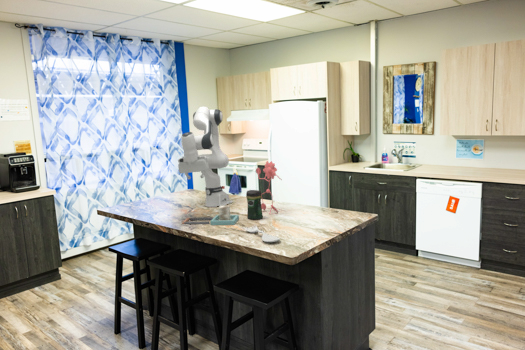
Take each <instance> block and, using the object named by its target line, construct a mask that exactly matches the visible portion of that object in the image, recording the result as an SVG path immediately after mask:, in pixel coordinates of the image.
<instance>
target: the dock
mask: <svg viewBox="0 0 525 350" xmlns="http://www.w3.org/2000/svg"><path fill="white" fill-rule="evenodd" d="M213 217H214V218H213V219H212V220H209V223H210V224H209V225H210V226H235V224H236V223H237V222H238V221H239V219H240V215H239V214H230V219H231V220H220V221H219V214H215V216H213Z"/></svg>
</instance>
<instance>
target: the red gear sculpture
mask: <svg viewBox="0 0 525 350" xmlns="http://www.w3.org/2000/svg"><path fill="white" fill-rule="evenodd" d="M275 165H276V164H275V163H273V161H270V162H269V161H267V160H266V162H265V164H264V168H263V169H262V170H261V168H260V167H257V168H256V170H255V173H256V174H257V175H258V179H259V180H265V181H267V182H268V188H267V189H266V191H265V192H262V193H261V195H264V194H265V193H267V194H270V195H271V203H272V204H270V206H271V207H270V208H267V205H266V203H264V200H263V197H262V196H261V207H262V211H266V209H270V210H269V215H271V213H272V210H273V211H274V212H276V213H279V212H278V208H276V207H275V206H274V205H273V204H274V203H273V202H274V199H273V197H274V196H273V194H272V192H271V189H270V187H271V180H274V178H275V177H277V178H278V179H279V180H281V178H280V176H279V175H277V173H276V172H278V169H277V167H276V166H275ZM262 171H263V173H264V175H265V176H264V177H262V178H261V177H260V175H261V173H262ZM266 177H267V178H266ZM279 210H280V211H282V209H280V208H279Z"/></svg>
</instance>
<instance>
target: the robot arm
mask: <svg viewBox="0 0 525 350" xmlns="http://www.w3.org/2000/svg"><path fill="white" fill-rule="evenodd" d="M223 118H224V117H223V112H222V111H221V110H220V109H209V107H207V106H205V105H204V106H199V107H198V109H197V110H196V111H195V112H193V115H192V124H193V126H194V127H195V128H196V129H197V130H198V131H204V132H203V134H199V135H194V133H193V132H191V131H188V132H184V133H182V134H181V139H180V140H181V146H182V149H183V156H182V157H181V158H179V159H177V162H178V164H177V165H178V166H177V167H178V173H180V174H184V175H185V176H186V178H187V180H191V178H192V177H191V175H189V173H196V172H197V173H198V172H199V173H201V175H200V176H199V177H200V178H201V179H204V181H205V202H204V204H205V205H204V206H205V207H206V208H207V207H208V208H216V207H217V206H219V207H220V206H228V205H230V204H232V202H233V203H234V201H233V200H231V199H230V195H229V193H227V192H225V191H224V189H225V186H223V185H222V186H221V177H220V175H219V174H218V173H216V172H214V171H213V170H212V169H216V170H217V169H224V168H226V167H228V165H229V160H230V159H229V157H228V155H226V154H225V153H224V152H223V151H222V149H221V147H220V141H219V139H220V138H219V137H220V136H219V135H220V134H219V126H220V124H221V123H222V121H223ZM202 150H209V151H211V153H206V154H205V153H204V154H199V151H202ZM227 204H228V205H227ZM217 208H218V207H217Z"/></svg>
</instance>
